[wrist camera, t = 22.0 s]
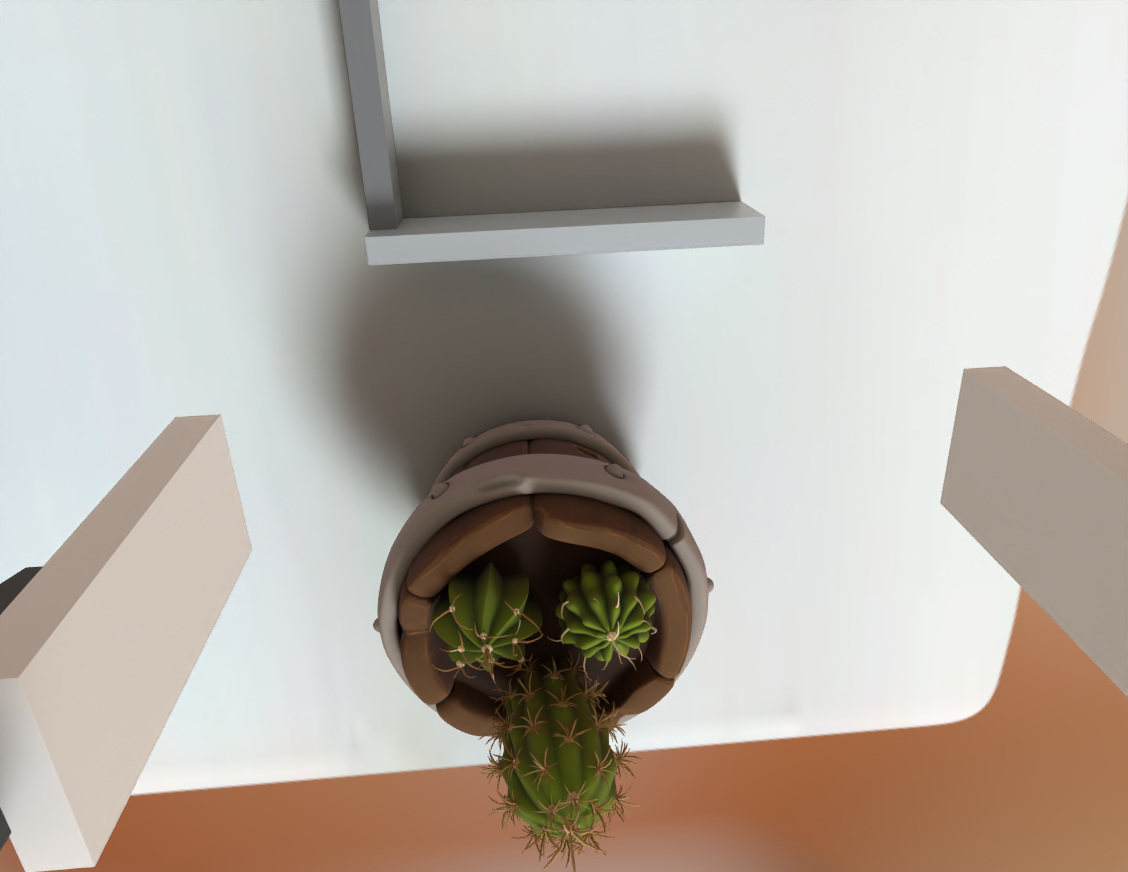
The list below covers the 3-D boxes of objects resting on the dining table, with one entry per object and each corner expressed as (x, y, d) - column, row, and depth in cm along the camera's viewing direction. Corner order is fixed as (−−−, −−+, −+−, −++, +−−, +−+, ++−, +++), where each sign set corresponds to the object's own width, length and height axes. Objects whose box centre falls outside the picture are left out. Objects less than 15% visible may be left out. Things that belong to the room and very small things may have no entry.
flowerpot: (385, 381, 42) (300, 630, 24) (683, 379, 43) (815, 615, 25) (403, 615, 48) (346, 953, 30) (664, 608, 49) (759, 930, 31)
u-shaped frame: (380, 245, 39) (368, 265, 36) (323, -192, 32) (300, -223, 29) (739, 226, 40) (763, 244, 37) (761, -205, 33) (793, -236, 29)
